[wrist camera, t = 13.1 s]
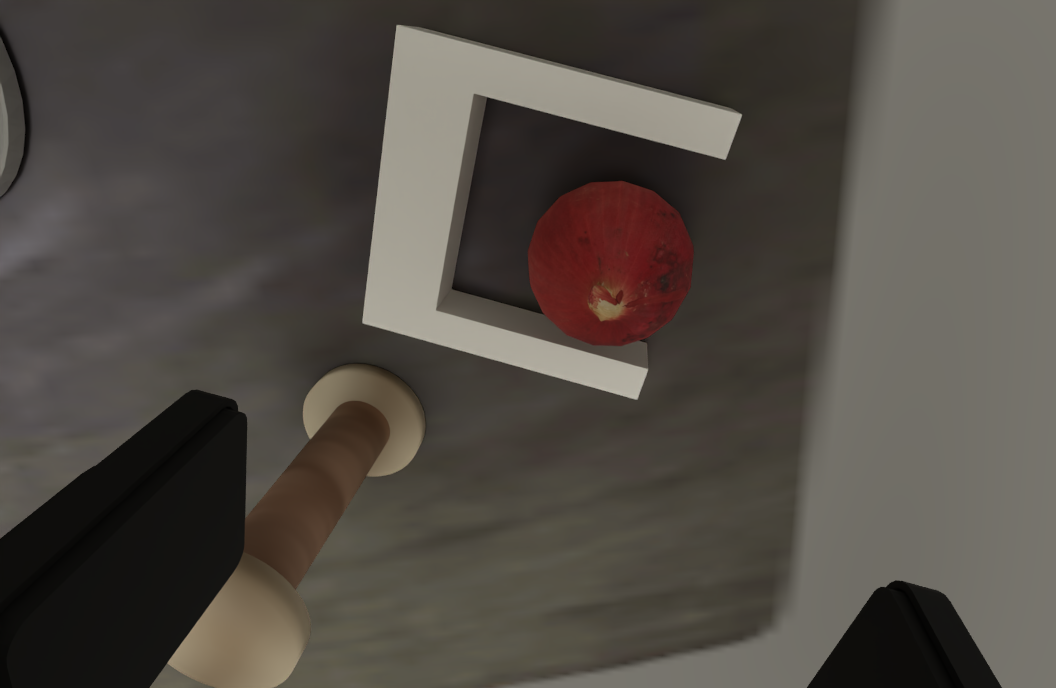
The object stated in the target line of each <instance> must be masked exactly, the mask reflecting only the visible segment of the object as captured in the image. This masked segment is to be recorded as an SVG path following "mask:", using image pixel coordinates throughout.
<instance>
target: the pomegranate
mask: <svg viewBox="0 0 1056 688" xmlns="http://www.w3.org/2000/svg"><path fill="white" fill-rule="evenodd" d="M693 254H694V250H693V244H692V242H691V239H690V237H689V234H688V232H687V230H686V227H685V225H684V222H683V220H682V218H681V215H680V213H679V212H678V211H676V210H675V209H674V208H673V207H672V206H671V205H669V204H668V203H667V202H666V201H665V200H664V199H662V198H661V197H660V196H659V195H658V194H657V193H655V192H654V191H652V190H649V189H646V188H643V187H640V186H637V185H634V184H631V183H628V182H625V181H613V182H590V183H588V184H586V185H584V186H582V187H579V188H577V189H575V190H573V191H571V192H568V193H566V194H564V195H562V196H561V197H559V198H558V199H557V201H556V202H555V203H554V204H553V205H552V206H551V207H550V208H549V209H548V211H547V212H546V213H545V214H544V215H543V216H542V217H541V218H540V219H539V220H538V222H537V225H536V228H535V231H534V234H533V237H532V240H531V243H530V246H529V248H528V264H529V280H530V285H531V288H532V290H533V292H534V295H535V297H536V299H537V301H538V303H539V306H540V308H541V310H542V312H543V313H544V314H545V316H546V317H547V318H549V319H550V320H551V321H552V322H553V323H554V324H555V325H556V326H557V327H558V328H559V329H560V330H561V331H563V332H564V333H565V334H566V335H567V336H570V337H572V338H575V339H578V340H580V341H583V342H585V343H588V344H591V345H593V346H624V345H627V344H630V343H633V342H636V341H639V340H642V339H645V338H648V337H649V336H651V335H652V334H653V333H655V332H656V331H657V330H659V329H660V328H661V327H663V326H664V325H665V324H667V323H668V322H669V321H671V320H672V318H673V317H674V316H675V314H676V312H677V310H678V309H679V307H680V305H681V303H682V301H683V300H684V298H685V296H686V294H687V293H688V291H689V289H690V287H691V276H692V265H693Z"/></svg>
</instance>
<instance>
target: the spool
mask: <svg viewBox="0 0 1056 688" xmlns="http://www.w3.org/2000/svg"><path fill="white" fill-rule="evenodd" d="M303 421H304V426H305V429H306V432H307V434H308V436H309V438H310V441H309V442H308V443H307V444H306V446H305V447H304V448H303V449H302V450H301V452H300V453H299V454H298V455H297V456H296V458H295V459H294V460H293V461H292V463H291V464H290V465H289V466H288V467H287V469H286V470H285V471H284V472H283V473H282V475H281V476H280V477H279V478H278V480H277V481H276V482H275V483H274V484H273V486H272V487H271V488H270V489H269V490H268V492H267V493H266V494H265V495H264V497H263V498H262V499H261V500H260V501H259V503H258V504H257V505H256V506H255V507H254V509H253V510H252V511H251V512H250V514H249V515H248V516H247V517H246V518H245V544H244V551H243V554H242V557H241V560H240V562H239V564H238V566H237V568H236V569H235V571H234V572H233V574H232V575H231V576H230V578H229V579H228V581H227V582H226V583H225V585H224V586H223V587H222V589H221V590H220V591H219V593H218V594H217V596H216V597H215V598H214V600H213V601H212V602H211V604H210V605H209V607H208V608H207V609H206V611H205V612H204V613H203V615H202V616H201V617H200V619H199V620H198V622H197V623H196V624H195V626H194V627H193V628H192V630H191V631H190V633H189V634H188V635H187V637H186V638H185V639H184V641H183V642H182V643H181V645H180V646H179V648H178V649H177V650H176V652H175V653H174V654H173V656H172V657H171V658H170V660H169V661H168V664H169V665H170V666H172V667H173V668H175V669H176V670H178V671H179V672H181V673H183V674H184V675H186V676H188V677H190V678H192V679H194V680H197V681H199V682H201V683H204V684H206V685H209V686H212V687H216V688H273V687H275V686H277V685H279V684H281V683H282V682H284V681H285V680H286V679H287V678H288V677H289V675H290V674H291V673H292V671H293V669H294V667H295V666H296V664H297V662H298V660H299V658H300V656H301V655H302V653H303V651H304V649H305V647H306V645H307V643H308V641H309V639H310V633H311V622H310V616H309V613H308V610H307V608H306V606H305V604H304V602H303V600H302V598H301V597H300V595H299V594H298V592H297V591H296V588H297V586H298V585H299V583H300V582H301V580H302V578H303V577H304V575H305V574H306V572H307V570H308V569H309V567H310V566H311V564H312V562H313V561H314V559H315V558H316V556H317V554H318V553H319V551H320V550H321V548H322V546H323V545H324V543H325V541H326V540H327V538H328V537H329V535H330V533H331V532H332V530H333V529H334V527H335V525H336V524H337V522H338V521H339V519H340V517H341V516H342V514H343V513H344V511H345V509H346V508H347V506H348V505H349V503H350V501H351V500H352V498H353V497H354V495H355V493H356V492H357V490H358V488H359V487H360V485H361V484H362V482H363V480H364V479H365V477H366V476H385V475H389V474H392V473H395V472H397V471H399V470H401V469H403V468H404V467H405V466H406V465H408V464H409V462H410V461H411V460H412V459H413V457H414V456H415V454H416V452H417V450H418V449H419V447H420V445H421V443H422V441H423V438H424V435H425V429H426V420H425V414H424V411H423V408H422V405H421V403H420V401H419V399H418V398H417V396H416V395H415V393H414V392H413V391H412V389H411V388H410V387H409V386H408V385H407V384H406V383H405V382H404V381H402V380H401V379H400V378H399V377H397V376H396V375H394V374H392V373H391V372H389V371H387V370H384V369H382V368H379V367H376V366H373V365H368V364H347V365H342V366H339V367H337V368H334V369H332V370H331V371H329V372H328V373H326V374H325V375H324V376H323V377H322V378H321V379H320V380H319V381H318V382H317V383H316V384H315V385H314V387H313V388H312V389H311V390H310V392H309V393H308V395H307V397H306V399H305V402H304V407H303Z"/></svg>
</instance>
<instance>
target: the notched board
mask: <svg viewBox="0 0 1056 688" xmlns="http://www.w3.org/2000/svg"><path fill="white" fill-rule="evenodd" d="M487 97H489V98H493V99H497V100H500V101H504V102H508V103H512V104H516V105H519V106H523V107H527V108H531V109H535V110H538V111H542V112H546V113H550V114H553V115H557V116H561V117H565V118H569V119H572V120H576V121H580V122H584V123H588V124H591V125H595V126H599V127H603V128H607V129H610V130H614V131H618V132H622V133H626V134H629V135H633V136H637V137H641V138H645V139H648V140H652V141H656V142H660V143H663V144H667V145H671V146H675V147H679V148H682V149H686V150H690V151H694V152H698V153H701V154H705V155H709V156H713V157H717V158H720V159H724V160H726V157H727V155H728V152H729V149H730V147H731V144H732V141H733V138H734V136H735V133H736V130H737V128H738V125H739V122H740V119H741V117H742V114H740V113H738V112H737V111H735V110H733V109H732V108H728V107H725V106H721V105H717V104H713V103H709V102H705V101H702V100H698V99H694V98H690V97H686V96H682V95H678V94H675V93H671V92H667V91H663V90H659V89H655V88H652V87H648V86H644V85H640V84H636V83H632V82H629V81H625V80H621V79H617V78H613V77H609V76H606V75H602V74H598V73H594V72H590V71H586V70H583V69H579V68H575V67H571V66H567V65H563V64H560V63H556V62H552V61H548V60H544V59H540V58H536V57H533V56H529V55H525V54H521V53H517V52H513V51H510V50H506V49H502V48H498V47H494V46H490V45H487V44H483V43H479V42H475V41H471V40H467V39H464V38H460V37H456V36H452V35H448V34H444V33H441V32H437V31H433V30H429V29H425V28H421V27H415V26H405V25H397V27H396V35H395V44H394V53H393V61H392V70H391V79H390V87H389V96H388V105H387V113H386V122H385V131H384V139H383V148H382V157H381V165H380V174H379V183H378V191H377V200H376V209H375V217H374V226H373V234H372V243H371V252H370V260H369V269H368V278H367V286H366V295H365V304H364V312H363V321H362V323H364V324H367V325H371V326H374V327H378V328H382V329H385V330H389V331H392V332H396V333H400V334H403V335H407V336H410V337H414V338H417V339H421V340H425V341H428V342H432V343H435V344H439V345H443V346H446V347H450V348H453V349H457V350H460V351H464V352H468V353H471V354H475V355H478V356H482V357H486V358H489V359H493V360H496V361H500V362H503V363H507V364H511V365H514V366H518V367H521V368H525V369H529V370H532V371H536V372H539V373H543V374H546V375H550V376H554V377H557V378H561V379H564V380H568V381H572V382H575V383H579V384H582V385H586V386H590V387H593V388H597V389H600V390H604V391H607V392H611V393H615V394H618V395H622V396H625V397H629V398H633V399H636V400H637V399H638V396H639V393H640V390H641V388H642V385H643V382H644V380H645V377H646V374H647V371H648V354H647V343H645V342H641V341H636V342H633V343H630V344H627V345H624V346H593V345H591V344H588V343H585V342H583V341H580V340H578V339H575V338H572V337H570V336H567V335H566V334H565V333H564V332H563V331H561V330H560V329H559V328H558V327H557V326H556V325H555V324H554V323H553V322H552V321H551V320H550V319H549V318H547V317H546V316H545V315H543V314H540V313H536V312H532V311H529V310H525V309H522V308H518V307H514V306H511V305H507V304H503V303H500V302H496V301H492V300H489V299H485V298H482V297H478V296H474V295H471V294H467V293H463V292H460V291H456V290H453V289H452V284H453V279H454V274H455V268H456V263H457V257H458V252H459V246H460V241H461V236H462V230H463V225H464V219H465V214H466V209H467V203H468V198H469V192H470V187H471V182H472V176H473V171H474V165H475V160H476V155H477V149H478V144H479V138H480V133H481V128H482V122H483V117H484V111H485V106H486V101H487Z"/></svg>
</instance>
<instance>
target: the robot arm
mask: <svg viewBox="0 0 1056 688" xmlns="http://www.w3.org/2000/svg"><path fill="white" fill-rule="evenodd" d="M24 139H25V121H24V111H23V101H22V97H21V93H20V89H19V85H18V82H17V78H16V74H15V70H14V68H13V65H12V63H11V61H10V58H9V56H8V53H7V51H6V49H5V46H4V44H3V41H2V39H1V37H0V197H1V196H2V195H3V194H4V193H5V192H6V191H7V189H8V188H9V186H10V185H11V183H12V182H13V180H14V178H15V177H16V175H17V172H18V169H19V166H20V163H21V159H22V156H23V151H24ZM246 454H247V417H246V415H245V414H244V413H242V412H238V405H237V403H236V401H234V400H232V399H229V398H226V397H222V396H218V395H214V394H211V393H207V392H203V391H200V390H191V391H189V392H188V393H186V394H185V395H183V396H182V397H181V398H180V399H178V400H177V401H176V402H175V403H173V404H172V405H171V406H170V407H168V408H167V409H166V410H165V411H163V412H162V413H161V414H160V415H158V416H157V417H156V418H155V419H153V420H152V421H151V422H150V423H148V424H147V425H146V426H145V427H143V428H142V429H141V430H140V431H138V432H137V433H136V434H135V435H133V436H132V437H131V438H130V439H128V440H127V441H126V442H125V443H123V444H122V445H121V446H120V447H119V448H117V449H116V450H115V451H114V452H112V453H111V454H110V455H109V456H107V457H106V458H105V459H104V460H102V461H101V462H100V463H99V464H97V465H96V466H93V467H92V468H90V469H89V470H87V471H85V472H84V473H82V474H81V475H80V476H78V477H77V478H76V479H75V480H73V481H72V482H71V483H70V484H68V485H67V486H66V487H65V488H63V489H62V490H61V491H60V492H58V493H57V494H56V495H55V496H53V497H52V498H51V499H49V500H48V501H47V502H46V503H44V504H43V505H42V506H41V507H39V508H38V509H37V510H36V511H34V512H33V513H32V514H31V515H29V516H28V517H27V518H26V519H24V520H23V521H22V522H21V523H19V524H18V525H17V526H16V527H14V528H13V529H12V530H11V531H9V532H8V533H7V534H6V535H4V536H3V537H2V538H1V539H0V688H149V687H150V686H151V684H152V683H153V682H154V680H155V679H156V678H157V676H158V675H159V674H160V672H161V671H162V669H163V668H164V667H165V665H166V664H167V663H168V661H169V660H170V658H171V657H172V656H173V654H174V653H175V652H176V650H177V649H178V648H179V646H180V645H181V643H182V642H183V641H184V639H185V638H186V637H187V635H188V634H189V633H190V631H191V630H192V628H193V627H194V626H195V624H196V623H197V622H198V620H199V619H200V617H201V616H202V615H203V613H204V612H205V611H206V609H207V608H208V607H209V605H210V604H211V602H212V601H213V600H214V598H215V597H216V596H217V594H218V593H219V591H220V590H221V589H222V587H223V586H224V585H225V583H226V582H227V581H228V579H229V578H230V576H231V575H232V574H233V572H234V571H235V569H236V568H237V566H238V564H239V562H240V560H241V557H242V554H243V551H244V544H245V500H246ZM807 688H1002V687H1001V685H1000V684H999V682H998V680H997V679H996V677H995V675H994V674H993V672H992V670H991V669H990V667H989V665H988V664H987V662H986V660H985V659H984V657H983V655H982V654H981V652H980V651H979V649H978V647H977V646H976V644H975V642H974V641H973V639H972V637H971V635H970V634H969V632H968V630H967V629H966V627H965V625H964V624H963V622H962V620H961V619H960V617H959V615H958V614H957V612H956V610H955V609H954V607H953V605H952V604H951V602H950V601H949V599H948V598H947V597H946V596H945V595H944V594H943V593H941V592H939V591H937V590H933V589H929V588H926V587H922V586H918V585H915V584H911V583H907V582H904V581H894V582H891V583H890V584H889V585H888V586H887V587H880V588H878V589H877V590H876V591H874V593H873V594H872V595H871V597H870V598H869V600H868V601H867V603H866V604H865V605H864V607H863V608H862V610H861V611H860V613H859V614H858V615H857V617H856V619H855V620H854V621H853V623H852V624H851V625H850V627H849V628H848V630H847V631H846V633H845V634H844V635H843V637H842V638H841V640H840V641H839V643H838V644H837V646H836V647H835V648H834V650H833V651H832V653H831V654H830V655H829V657H828V658H827V660H826V661H825V663H824V664H823V665H822V667H821V668H820V670H819V671H818V673H817V674H816V676H815V677H814V678H813V680H812V681H811V683H810V684H809V685H808V687H807Z"/></svg>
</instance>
